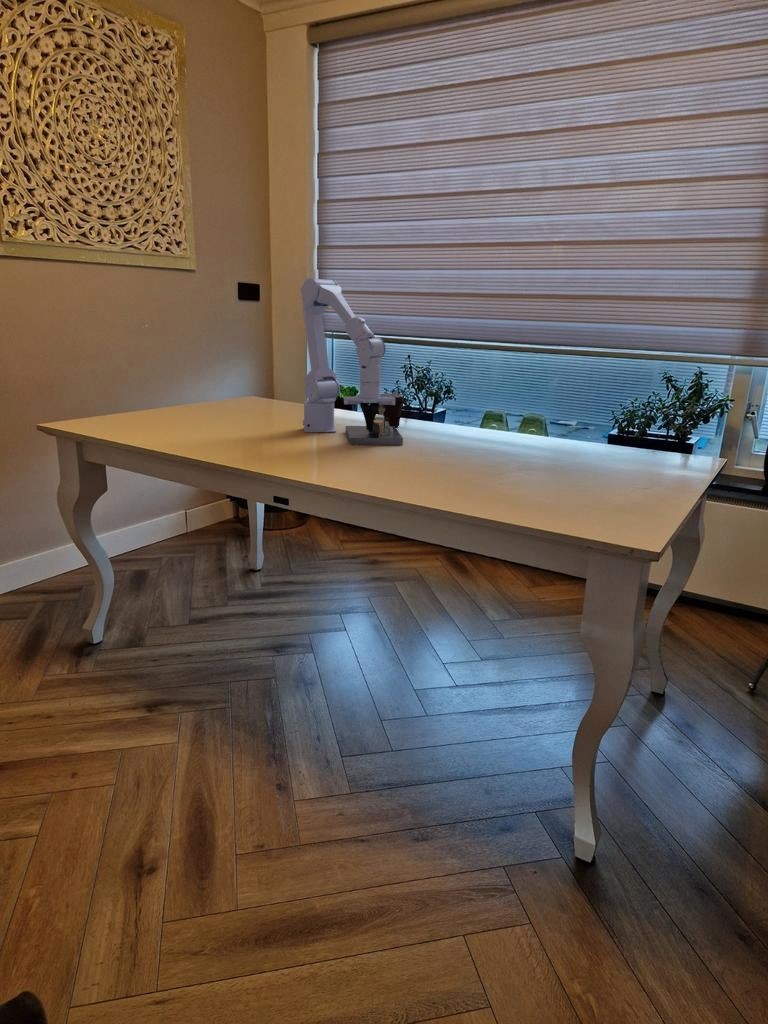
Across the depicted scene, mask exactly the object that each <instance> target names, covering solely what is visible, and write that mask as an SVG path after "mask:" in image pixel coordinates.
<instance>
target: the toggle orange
mask: <svg viewBox="0 0 768 1024" xmlns="http://www.w3.org/2000/svg"><path fill="white" fill-rule="evenodd" d="M373 423H380V435H383V422H382V420H374V421H373Z"/></svg>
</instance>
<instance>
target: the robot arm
mask: <svg viewBox="0 0 768 1024" xmlns="http://www.w3.org/2000/svg"><path fill="white" fill-rule="evenodd" d="M342 289H343V288H342V287H341V286H340V285H339V283H338V282H337V280H335V279H333V278H330V279H326V278H325V279H323V278H322V279H321V278H312V277H309V278H307V279H305V280H304V281H303V284H302V285H301V288H300V294H301V300H302V314H303V322H304V331H305V335H306V337H305V338H306V343H307V351H308V357H309V365H310V371H308V373H307V374H306V375H305V377H304V380H305V381H304V382H305V385H304V394H305V397H306V398H307V400H308V401H307V400H305V401H304V402H303V403H304V404H303V420H302V426H304V427H303V429H304V430H303V431H304V433H336V431H337V430H336V426H335V402H336V400H337V397H338V396H339V394H340V391H341V387H340V384H339V381H338V380H337V374H336V373H335V371H333V369H331V368H330V365H329V358H328V351H327V343H326V342H327V341H326V337H325V336H326V335H325V329H324V322H323V313H324V311H325V310H327V309H328V308H329V307H331V308H332V309H333V311H335V313H336V314H337V315H338V317H339V318H340V319H341V320H342V321H343V323H344V324H345V325H344V331H345V333H347V335H348V337H349V338H350V339H351V341H352V342H353V344H354V345H355V346H356V348H355V352H356V356H357V357H358V363H359V366H360V367H359V368H360V371H359V376H360V377H359V395H358V396H357V395H356V396H343V405H359V406H360V408H361V411H362V414H363V417H364V421H365V426H366V429H367V430H372V425H373V421H374V418H375V416H376V415H378V410H379V404H380V405H395V398H394V397H380V394H381V367H382V365H381V364H382V358H383V357H384V355H385V353H386V344H385V342H384V339H382V338H381V337H377V335H375V334H374V333H373V331H372V330H371V329H370V328H369V327H368V325H367V324H366V320H365V319H364V318H362V317H360V316H356V315H355V313H354V312H353V310H352V308H351V307H350V306H349V304H348V302H347V300H346V299H345V297H344V296H343V293H342Z"/></svg>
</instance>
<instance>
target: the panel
mask: <svg viewBox="0 0 768 1024" xmlns="http://www.w3.org/2000/svg"><path fill="white" fill-rule="evenodd" d="M374 420H376V416H375V418H374ZM345 436H346V438H347V441H348V443H349V445H350V444H357V445H356V446H403V445H404V438H403V436H402V435H401V433H400V431H399V430H398V429H397V428H395V426H389V423H388V421H385V426H384V429H383V435H380V423H373V425H372V430H367V429H366V425H345Z"/></svg>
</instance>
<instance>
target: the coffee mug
mask: <svg viewBox="0 0 768 1024" xmlns="http://www.w3.org/2000/svg"><path fill="white" fill-rule="evenodd" d="M380 397H394V398H395V405H380V404H379V410H378V412H377V415H383V416H384V426H385V421H388V423H389V426H395V427H398V426H399V427H400V422H401V418H402V417H405V415H406V414H407V412H408V410H409V406H408V404H407V402H405V401H404V394H400V393H386V392H385V393H380ZM403 405H404V406H405V411H404V412H403V413H402V408H403ZM399 427H398V428H399Z"/></svg>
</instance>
